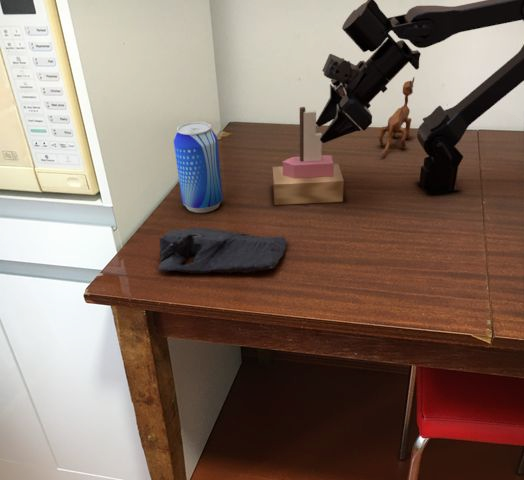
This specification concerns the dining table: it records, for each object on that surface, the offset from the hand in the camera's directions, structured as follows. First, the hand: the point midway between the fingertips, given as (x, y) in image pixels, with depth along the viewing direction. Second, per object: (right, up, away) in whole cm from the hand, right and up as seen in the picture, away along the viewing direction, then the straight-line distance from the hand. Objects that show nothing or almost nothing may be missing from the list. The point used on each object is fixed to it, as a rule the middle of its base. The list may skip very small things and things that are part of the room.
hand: (319, 133), depth 118 cm
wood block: (-2, -10, +8) cm, 13 cm away
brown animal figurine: (+21, +6, +27) cm, 34 cm away
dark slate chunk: (-18, -26, -11) cm, 34 cm away
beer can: (-24, -13, +6) cm, 28 cm away
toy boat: (-1, -6, +5) cm, 8 cm away
